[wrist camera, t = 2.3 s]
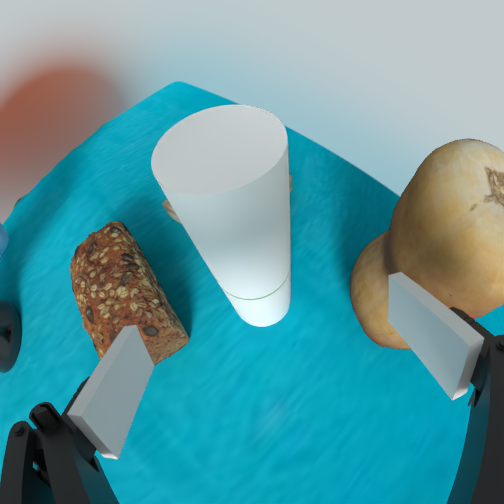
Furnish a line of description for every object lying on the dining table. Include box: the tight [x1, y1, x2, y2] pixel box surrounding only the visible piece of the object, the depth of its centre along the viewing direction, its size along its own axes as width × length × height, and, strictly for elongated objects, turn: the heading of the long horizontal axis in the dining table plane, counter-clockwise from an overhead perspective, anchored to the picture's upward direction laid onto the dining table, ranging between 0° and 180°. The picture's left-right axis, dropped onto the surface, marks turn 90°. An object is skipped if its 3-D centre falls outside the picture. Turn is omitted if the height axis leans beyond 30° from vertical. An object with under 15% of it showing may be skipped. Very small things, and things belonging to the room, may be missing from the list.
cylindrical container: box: [151, 105, 291, 327], centre depth 24 cm, size 7×7×25 cm
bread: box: [70, 221, 189, 365], centre depth 33 cm, size 19×11×10 cm, turn 35°
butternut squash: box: [350, 139, 504, 350], centre depth 21 cm, size 14×13×25 cm
